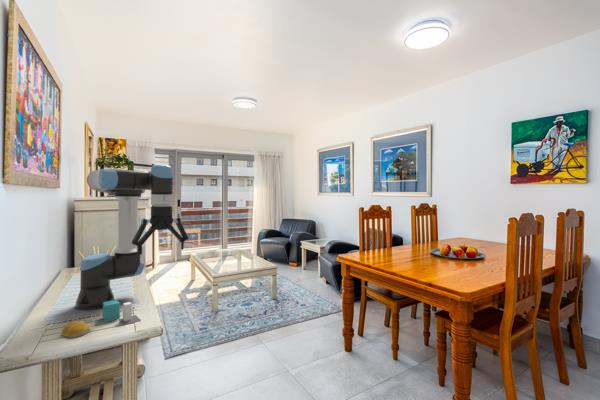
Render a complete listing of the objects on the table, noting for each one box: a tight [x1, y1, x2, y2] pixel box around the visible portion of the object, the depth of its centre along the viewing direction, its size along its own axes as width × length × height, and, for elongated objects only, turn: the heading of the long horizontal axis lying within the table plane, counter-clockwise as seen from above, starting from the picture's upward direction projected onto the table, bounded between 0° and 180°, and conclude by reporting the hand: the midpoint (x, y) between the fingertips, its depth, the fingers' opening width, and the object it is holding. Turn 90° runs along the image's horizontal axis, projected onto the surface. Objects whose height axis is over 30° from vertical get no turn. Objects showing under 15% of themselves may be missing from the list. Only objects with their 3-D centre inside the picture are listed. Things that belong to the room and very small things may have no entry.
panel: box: [118, 315, 141, 326], centre depth 126 cm, size 7×6×1 cm
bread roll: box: [61, 320, 91, 339], centre depth 115 cm, size 8×9×4 cm
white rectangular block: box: [122, 301, 133, 321], centre depth 126 cm, size 3×3×7 cm
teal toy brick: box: [102, 299, 121, 322], centre depth 128 cm, size 5×5×7 cm
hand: (161, 260), depth 116 cm, fingers open, 13 cm apart
